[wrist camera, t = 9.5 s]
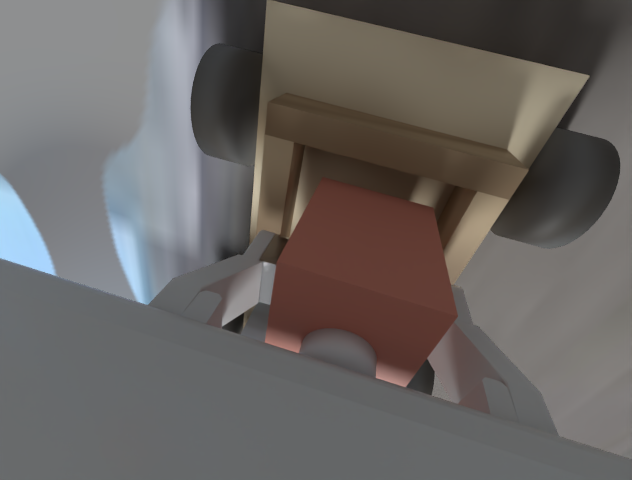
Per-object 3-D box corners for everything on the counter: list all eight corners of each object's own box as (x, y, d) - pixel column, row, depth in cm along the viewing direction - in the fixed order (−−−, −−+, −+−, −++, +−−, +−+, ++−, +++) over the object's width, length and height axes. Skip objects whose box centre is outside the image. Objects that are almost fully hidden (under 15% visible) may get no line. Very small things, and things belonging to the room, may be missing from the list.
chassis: (244, -5, 11) (86, -54, 5) (605, 81, 10) (876, 131, 4) (232, 326, 23) (178, 421, 17) (399, 378, 22) (401, 497, 16)
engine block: (322, 176, 10) (263, 286, 6) (433, 207, 10) (465, 349, 5) (300, 277, 13) (249, 404, 9) (385, 303, 13) (380, 448, 8)
